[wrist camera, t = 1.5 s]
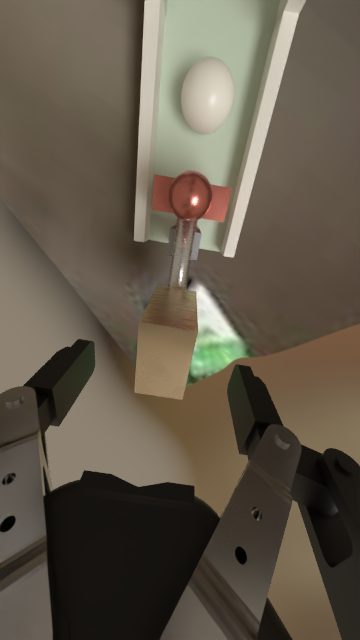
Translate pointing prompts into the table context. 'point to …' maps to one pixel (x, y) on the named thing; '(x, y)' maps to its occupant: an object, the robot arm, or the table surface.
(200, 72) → the ball
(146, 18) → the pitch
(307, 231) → the table surface
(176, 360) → the striker
